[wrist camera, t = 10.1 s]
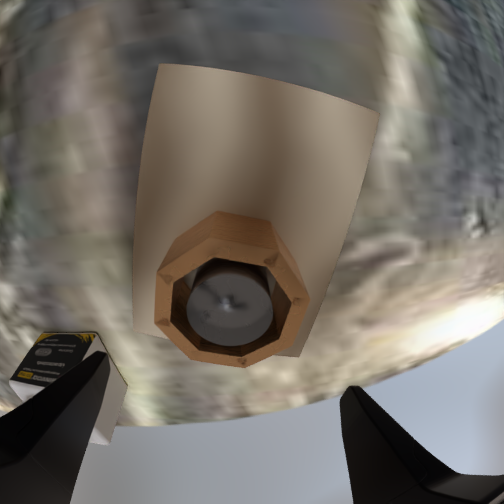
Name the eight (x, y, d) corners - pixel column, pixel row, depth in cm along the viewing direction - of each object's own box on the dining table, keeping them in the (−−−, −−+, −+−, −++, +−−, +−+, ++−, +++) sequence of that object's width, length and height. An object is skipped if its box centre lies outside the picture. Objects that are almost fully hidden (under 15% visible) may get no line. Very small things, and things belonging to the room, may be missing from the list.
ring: (168, 309, 17) (153, 352, 14) (179, 203, 15) (160, 228, 11) (274, 327, 18) (281, 371, 15) (305, 228, 16) (325, 259, 12)
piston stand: (139, 318, 20) (133, 331, 18) (166, 68, 13) (159, 63, 12) (295, 343, 21) (298, 357, 20) (368, 114, 14) (380, 113, 13)
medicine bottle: (97, 330, 20) (38, 450, 9) (129, 387, 23) (98, 494, 12) (41, 331, 20) (-18, 424, 9) (74, 382, 23) (36, 472, 12)
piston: (193, 295, 17) (183, 338, 13) (202, 235, 16) (191, 269, 12) (257, 306, 18) (261, 350, 14) (273, 248, 16) (282, 284, 12)
